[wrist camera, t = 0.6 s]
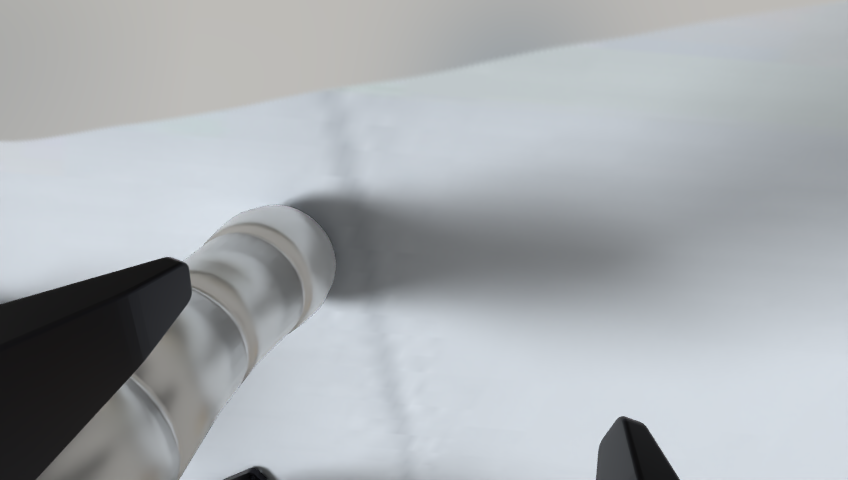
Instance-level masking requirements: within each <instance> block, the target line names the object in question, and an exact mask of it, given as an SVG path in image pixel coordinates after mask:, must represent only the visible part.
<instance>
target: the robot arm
mask: <svg viewBox="0 0 848 480" xmlns="http://www.w3.org/2000/svg"><path fill="white" fill-rule="evenodd" d="M191 296H192V286H191V278H190V271H189V266H188V265H187V263H185V262H183V261H180V260H177V259H174V258H171V257H165V258H161V259H157V260H154V261H151V262H147V263H144V264H140V265H137V266H133V267H130V268H126V269H123V270H119V271H116V272H112V273H109V274H105V275H102V276H98V277H95V278H91V279H88V280H84V281H81V282H77V283H74V284H70V285H67V286H63V287H60V288H56V289H53V290H49V291H46V292H42V293H39V294H35V295H32V296H28V297H25V298H21V299H18V300H14V301H11V302H7V303H4V304H0V480H36V479H37V478H38V477H39V476H40V475H41V474H42V473H43V472H44V470H45V469H46V468H47V467H48V466H49V465H50V464H51V463H52V462H53V461H54V460H55V459H56V457H57V456H58V455H59V454H60V453H61V452H62V451H63V450H64V449H65V448H66V447H67V445H68V444H69V443H70V442H71V441H72V440H73V439H74V438H75V437H76V436H77V435H78V433H79V432H80V431H81V430H82V429H83V428H84V427H85V426H86V425H87V424H88V423H89V421H90V420H91V419H92V418H93V417H94V416H95V415H96V414H97V413H98V412H99V411H100V410H101V408H102V407H103V406H104V405H105V404H106V403H107V402H108V401H109V400H110V399H111V398H112V396H113V395H114V394H115V393H116V392H117V391H118V390H119V389H120V388H121V387H122V386H123V384H124V383H125V382H126V381H127V380H128V379H129V378H130V377H131V376H132V375H133V374H134V373H135V371H136V370H137V369H138V368H139V367H140V366H141V365H142V363H143V362H144V361H145V360H146V359H147V357H148V356H149V355H150V354H151V352H152V351H153V350H154V348H155V347H156V346H157V344H158V343H159V342H160V340H161V339H162V338H163V336H164V335H165V334H166V332H167V331H168V330H169V328H170V327H171V326H172V324H173V323H174V322H175V320H176V319H177V318H178V316H179V315H180V314H181V312H182V311H183V310H184V308H185V307H186V306H187V304H188V303H189V301H190V299H191ZM224 480H267V479H266V478H265V477H264V476H263V475H262V474H261V473H260V471H258V470H257V469H255V468H250V469H247V470H245V471H243V472H240V473H238V474H236V475H233V476H231V477H229V478H226V479H224ZM596 480H680V479H679V477H678V476H677V474H676V473H675V471H674V470H673V468H672V466H671V465H670V463H669V462H668V460H667V458H666V457H665V455H664V454H663V452H662V451H661V449H660V447H659V446H658V444H657V443H656V441H655V439H654V438H653V436H652V435H651V433H650V432H649V430H648V428H647V427H646V426H645V425H644V424H643V423H641V422H639V421H636V420H633V419H630V418H627V417H625V416H621V417H619V418H618V419H617V420H616V421H615V423H614V424H613V425H612V427H611V428H610V429H609V431H608V432H607V433H606V435H605V436H604V438H603V439H602V441H601V443H600V446H599V451H598V462H597V474H596Z"/></svg>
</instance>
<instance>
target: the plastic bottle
mask: <svg viewBox="0 0 848 480" xmlns="http://www.w3.org/2000/svg"><path fill="white" fill-rule="evenodd" d="M183 262H185V263H187V265H188V266H189V271H190V278H191V286H192V296H191V299H190V301H189V303H188V304H187V306H186V307H185V308H184V310H183V311H182V312H181V314H180V315H179V316H178V318H177V319H176V320H175V322H174V323H173V324H172V326H171V327H170V328H169V330H168V331H167V332H166V334H165V335H164V336H163V338H162V339H161V340H160V342H159V343H158V344H157V346H156V347H155V348H154V350H153V351H152V352H151V354H150V355H149V356H148V357H147V359H146V360H145V361H144V362H143V363H142V365H141V366H140V367H139V368H138V369H137V370H136V371H135V373H134V374H133V375H132V376H131V377H130V378H129V379H128V380H127V381H126V382H125V383H124V384H123V386H122V387H121V388H120V389H119V390H118V391H117V392H116V393H115V394H114V395H113V396H112V398H111V399H110V400H109V401H108V402H107V403H106V404H105V405H104V406H103V407H102V408H101V410H100V411H99V412H98V413H97V414H96V415H95V416H94V417H93V418H92V419H91V420H90V421H89V423H88V424H87V425H86V426H85V427H84V428H83V429H82V430H81V431H80V432H79V433H78V435H77V436H76V437H75V438H74V439H73V440H72V441H71V442H70V443H69V444H68V445H67V447H66V448H65V449H64V450H63V451H62V452H61V453H60V454H59V455H58V456H57V457H56V459H55V460H54V461H53V462H52V463H51V464H50V465H49V466H48V467H47V468H46V469H45V470H44V472H43V473H42V474H41V475H40V476H39V477H38V478H37V479H36V480H179V479H180V477H181V476H182V474H183V472H184V471H185V469H186V467H187V466H188V464H189V463H190V461H191V459H192V458H193V456H194V454H195V453H196V451H197V449H198V448H199V446H200V444H201V443H202V441H203V439H204V438H205V436H206V435H207V433H208V431H209V430H210V428H211V426H212V425H213V423H214V421H215V420H216V418H217V416H218V415H219V413H220V412H221V411H222V409H223V408H224V407H225V405H226V404H227V403H228V401H229V400H230V399H231V397H232V396H233V395H234V393H235V392H236V391H237V389H238V388H239V387H240V385H241V384H242V382H243V381H244V380H245V378H246V377H247V376H248V375H249V373H250V372H251V371H252V369H253V368H254V367H255V366H256V365H257V364H258V363H259V362H260V361H261V360H262V359H263V358H264V357H265V356H266V355H267V354H268V353H269V352H270V351H271V350H272V349H273V348H274V347H275V346H276V345H277V344H278V343H279V342H280V341H281V340H282V339H283V338H284V337H285V336H286V335H287V334H289V333H290V332H292V331H293V330H295V329H296V328H298V327H299V326H300V325H301V324H303V323H304V322H305V321H306V320H307V319H309V318H310V317H311V316H312V315H313V314H314V313H315V312H317V310H318V309H319V308H320V307H321V306H322V304H323V303H324V301H325V299H326V297H327V295H328V293H329V290H330V288H331V286H332V283H333V281H334V277H335V272H336V258H335V253H334V249H333V246H332V244H331V241H330V239H329V238H328V236H327V234H326V233H325V231H324V230H323V229H322V228H321V226H320V225H319V224H318V223H317V222H316V221H315V220H313V219H312V218H311V217H310V216H309V215H307V214H305V213H303V212H302V211H300V210H298V209H295V208H292V207H289V206H283V205H267V206H262V207H259V208H255V209H251V210H248V211H245V212H241V213H239V214H238V215H236V216H234V217H233V218H231V219H230V220H229V221H228V222H226V223H225V224H224V225H223V226H222V227H221V228H219V229H218V230H217V231H216V232H215V233H214V234H213V235H212V236H211V237H210V238H209V239H208V240H207V242H206V243H205V244H204V245H203V246H202V247H201V248H199V249H198V250H197V251H195V252H194V253H193V254H191V255H190V256H189V257H188V258H186V259H185V260H184V261H183Z"/></svg>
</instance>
